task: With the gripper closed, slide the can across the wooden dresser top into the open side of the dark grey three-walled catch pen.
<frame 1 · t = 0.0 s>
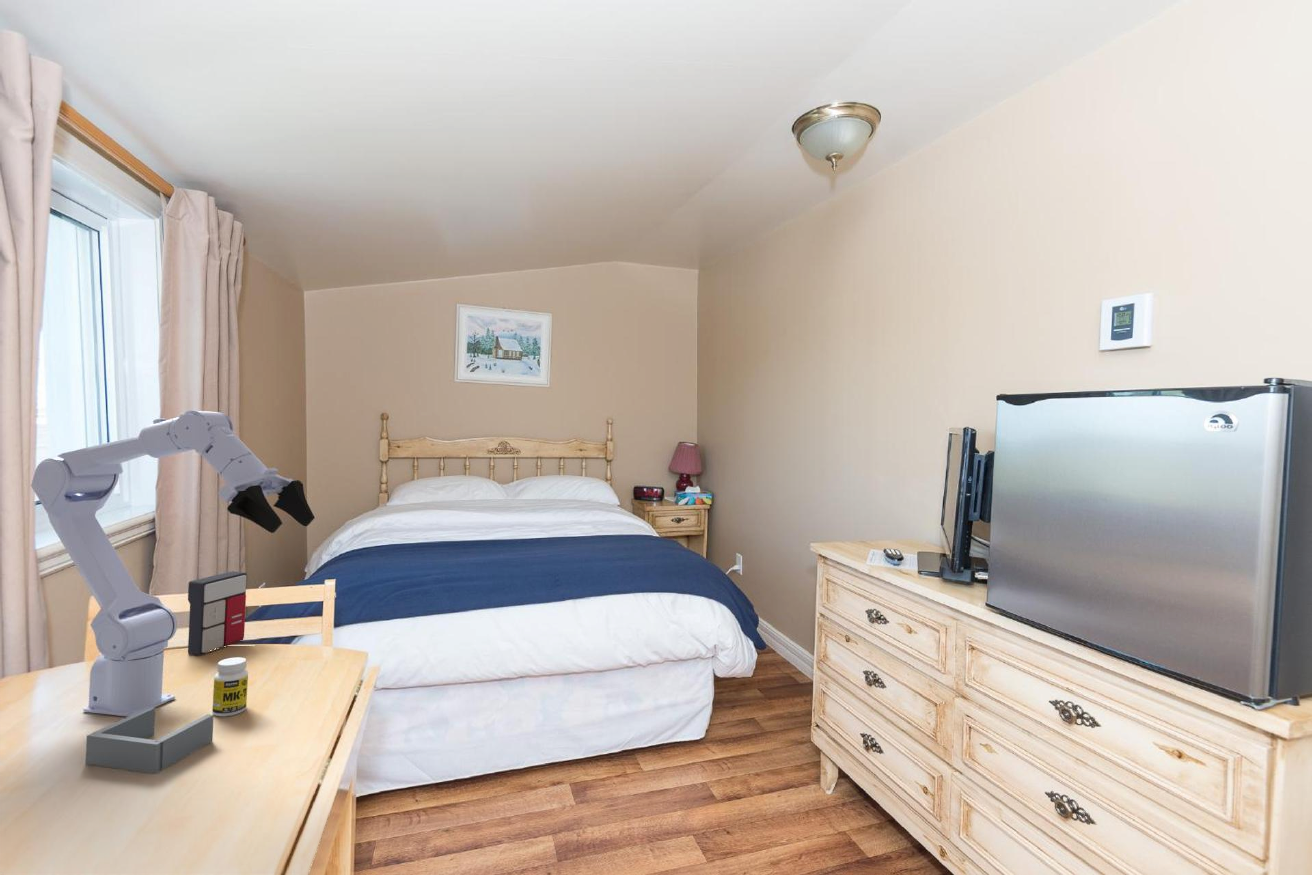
hand: (294, 525, 103), 32 cm above the table, tool tilted 50°, fingers open, 7 cm apart
supplement bottle: (229, 712, 107), on the table
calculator: (216, 647, 136), on the table
catch pen: (153, 751, 93), on the table
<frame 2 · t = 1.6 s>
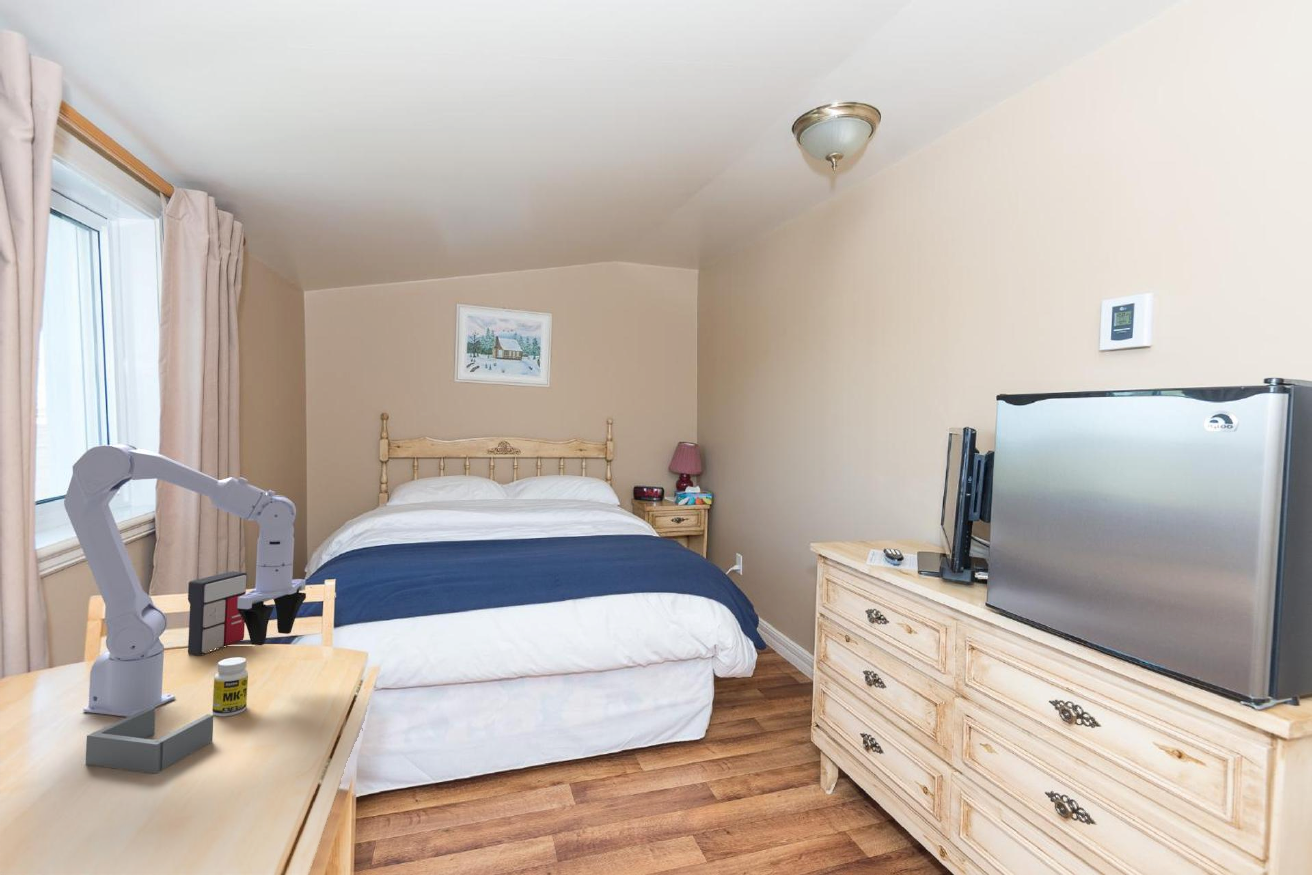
hand: (271, 638, 116), 9 cm above the table, tool pointing down, fingers open, 6 cm apart
nothing on the table moved.
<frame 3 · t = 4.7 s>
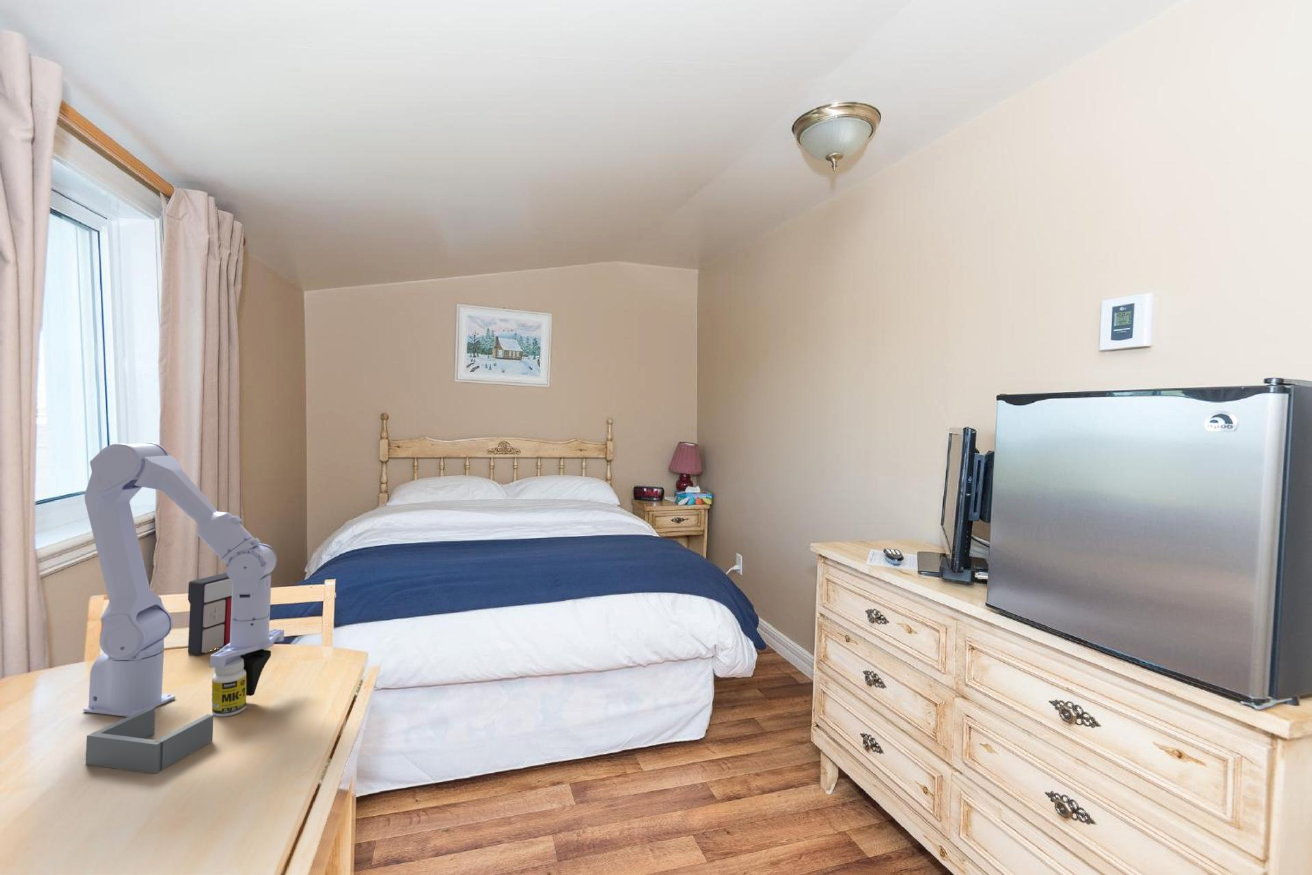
hand: (247, 694, 111), 1 cm above the table, tool pointing down, fingers closed
supplement bottle: (229, 711, 107), on the table, touching gripper
everything else where it was.
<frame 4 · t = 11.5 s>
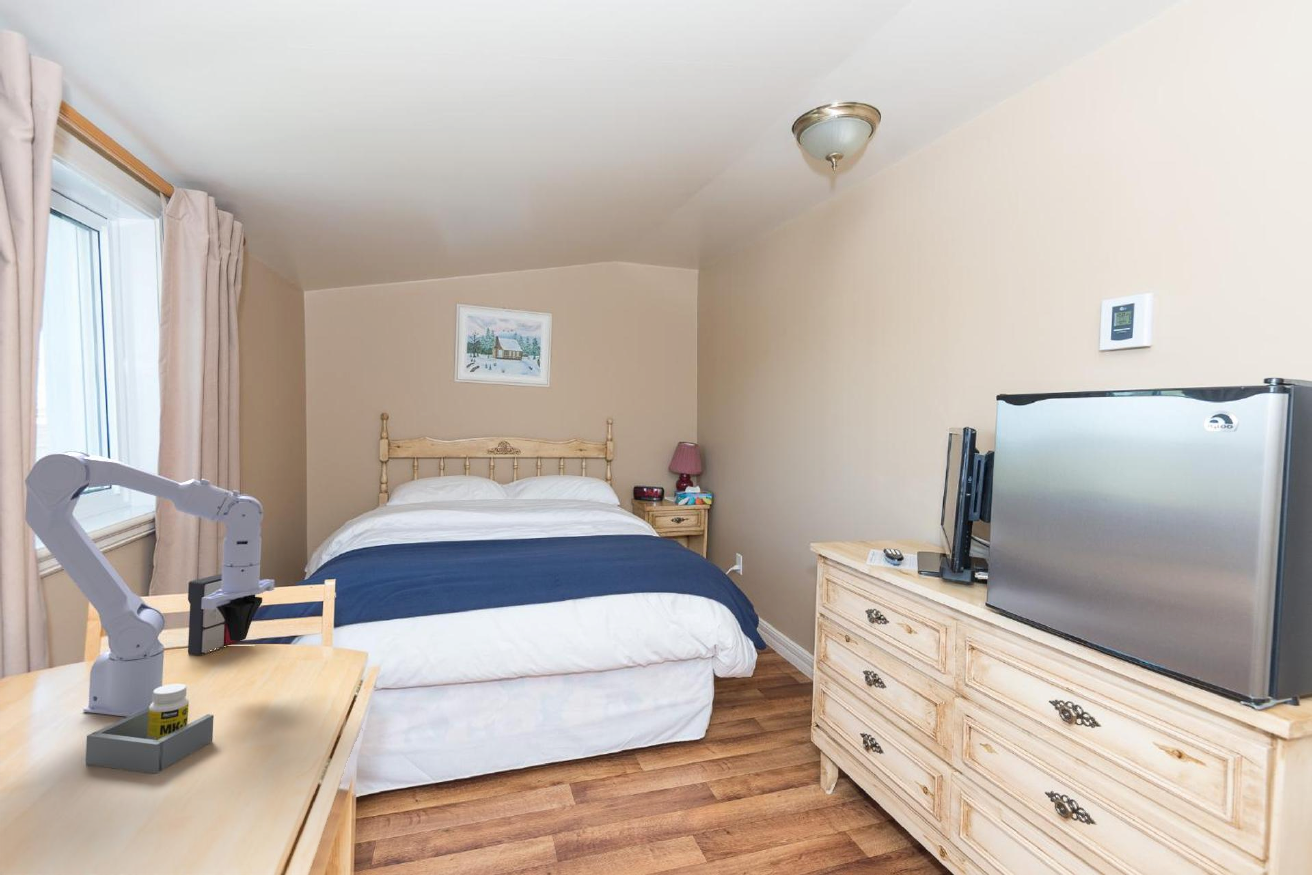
hand: (238, 639, 115), 9 cm above the table, tool pointing down, fingers closed
supplement bottle: (166, 745, 95), on the table
everything else where it was.
at the end: supplement bottle 2.1 cm from the catch pen (horizontally); supplement bottle tilted 0°; supplement bottle moved 11.9 cm from its start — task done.
